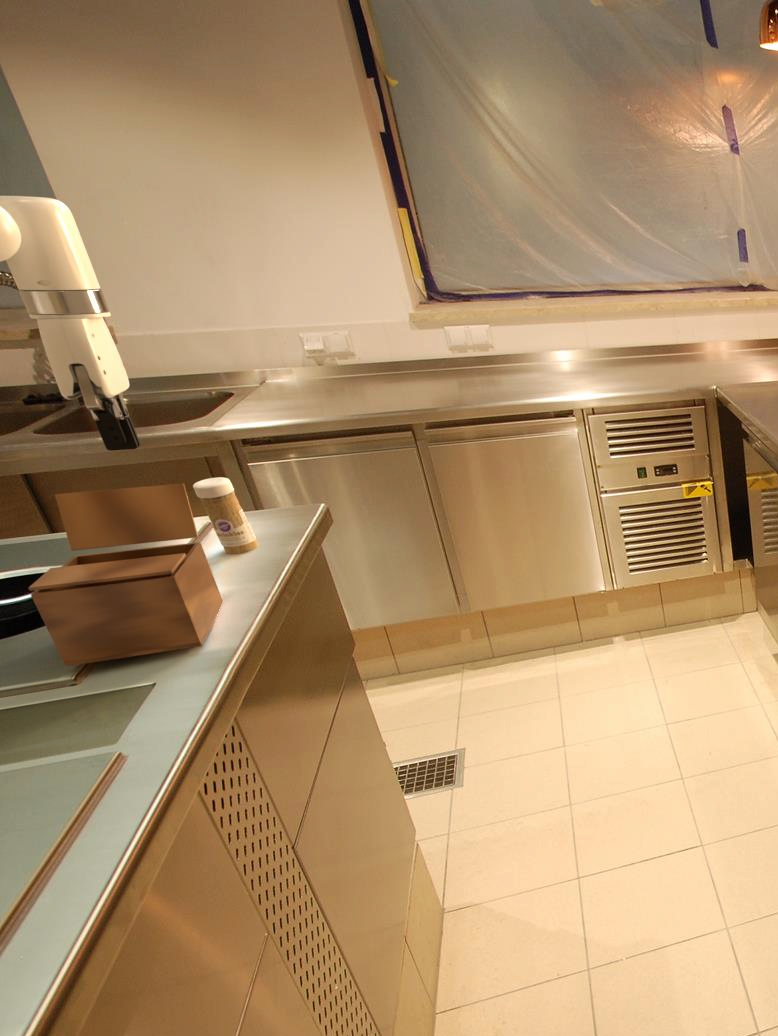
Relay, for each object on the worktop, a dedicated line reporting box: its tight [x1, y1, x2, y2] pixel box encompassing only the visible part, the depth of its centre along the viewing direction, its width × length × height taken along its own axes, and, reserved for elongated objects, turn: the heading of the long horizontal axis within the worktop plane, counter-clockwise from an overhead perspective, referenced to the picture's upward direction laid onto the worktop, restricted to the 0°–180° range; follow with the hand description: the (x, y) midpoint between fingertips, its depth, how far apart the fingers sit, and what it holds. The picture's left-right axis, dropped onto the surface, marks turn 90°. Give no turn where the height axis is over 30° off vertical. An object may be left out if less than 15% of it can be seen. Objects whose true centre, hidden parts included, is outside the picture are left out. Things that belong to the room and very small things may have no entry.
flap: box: [54, 483, 199, 552], centre depth 112 cm, size 13×7×1 cm
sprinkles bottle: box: [192, 476, 260, 555], centre depth 132 cm, size 5×5×14 cm
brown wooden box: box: [28, 541, 224, 667], centre depth 108 cm, size 13×15×10 cm
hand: (124, 448), depth 115 cm, fingers closed
